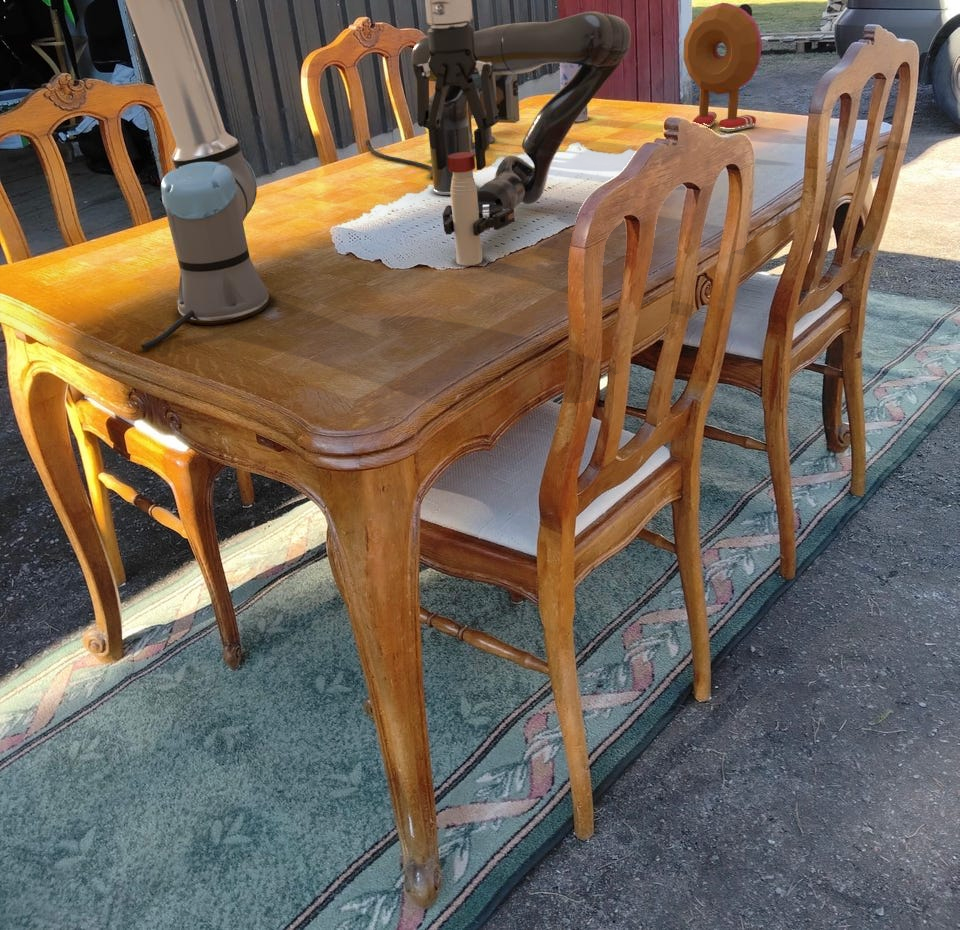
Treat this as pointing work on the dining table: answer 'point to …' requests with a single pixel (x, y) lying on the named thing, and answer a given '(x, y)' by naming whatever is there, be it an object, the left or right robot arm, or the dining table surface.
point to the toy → (723, 59)
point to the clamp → (499, 101)
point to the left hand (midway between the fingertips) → (461, 167)
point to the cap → (461, 162)
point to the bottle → (465, 218)
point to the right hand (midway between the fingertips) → (461, 229)
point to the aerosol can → (565, 75)
